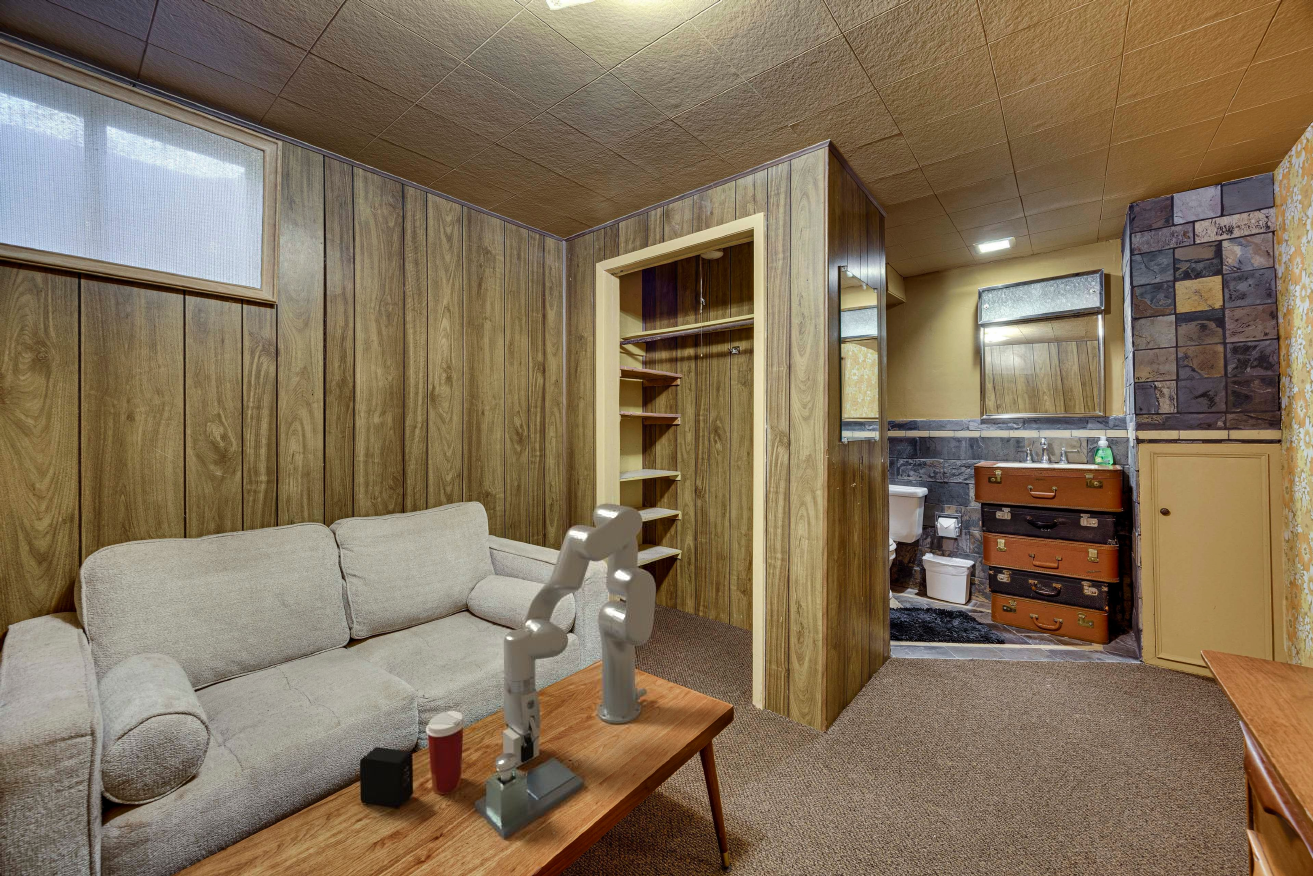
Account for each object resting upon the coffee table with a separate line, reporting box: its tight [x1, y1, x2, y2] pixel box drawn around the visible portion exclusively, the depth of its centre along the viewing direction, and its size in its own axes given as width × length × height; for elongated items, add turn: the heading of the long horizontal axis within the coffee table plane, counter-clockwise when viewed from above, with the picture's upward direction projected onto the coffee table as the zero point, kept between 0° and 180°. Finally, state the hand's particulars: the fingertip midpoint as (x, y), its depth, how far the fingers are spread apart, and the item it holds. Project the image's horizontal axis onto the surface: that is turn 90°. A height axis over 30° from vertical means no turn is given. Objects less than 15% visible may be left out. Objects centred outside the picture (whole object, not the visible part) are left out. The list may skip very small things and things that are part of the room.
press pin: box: [494, 753, 517, 786], centre depth 105 cm, size 4×4×6 cm
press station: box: [474, 756, 585, 840], centre depth 110 cm, size 20×12×8 cm, turn 136°
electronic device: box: [359, 746, 414, 810], centre depth 110 cm, size 4×10×10 cm, turn 78°
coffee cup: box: [425, 710, 466, 795], centre depth 115 cm, size 8×8×15 cm
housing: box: [502, 727, 540, 769], centre depth 124 cm, size 7×5×7 cm
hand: (521, 753), depth 124 cm, fingers closed on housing, 5 cm apart
